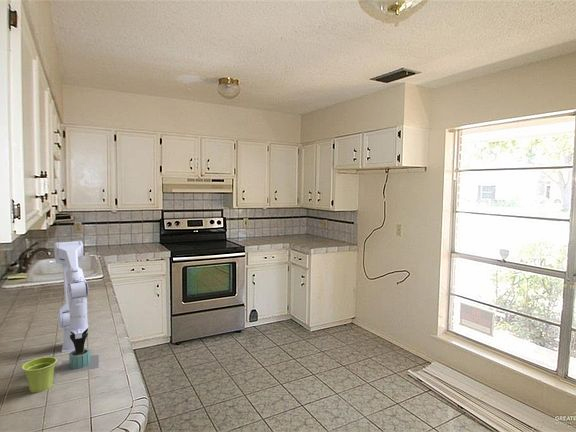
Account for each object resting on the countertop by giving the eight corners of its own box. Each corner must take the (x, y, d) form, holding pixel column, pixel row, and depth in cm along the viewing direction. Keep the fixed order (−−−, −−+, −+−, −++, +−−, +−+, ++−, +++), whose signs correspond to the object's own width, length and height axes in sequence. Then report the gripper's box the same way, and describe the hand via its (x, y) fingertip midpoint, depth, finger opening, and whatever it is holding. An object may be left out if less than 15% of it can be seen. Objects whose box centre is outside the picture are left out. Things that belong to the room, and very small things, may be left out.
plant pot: (20, 388, 119) (19, 362, 119) (54, 378, 126) (53, 353, 125) (26, 400, 113) (24, 373, 112) (61, 388, 119) (60, 363, 119)
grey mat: (62, 362, 138) (62, 361, 138) (98, 355, 143) (98, 354, 143) (60, 376, 127) (60, 375, 127) (98, 368, 133) (98, 367, 133)
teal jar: (70, 362, 136) (69, 350, 136) (90, 358, 140) (90, 347, 139) (69, 370, 131) (68, 358, 130) (90, 366, 134) (90, 354, 133)
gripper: (67, 310, 138) (68, 345, 139) (64, 322, 125) (66, 360, 126) (88, 307, 142) (89, 341, 143) (87, 319, 129) (89, 356, 130)
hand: (79, 350), depth 135 cm, fingers open, 3 cm apart
